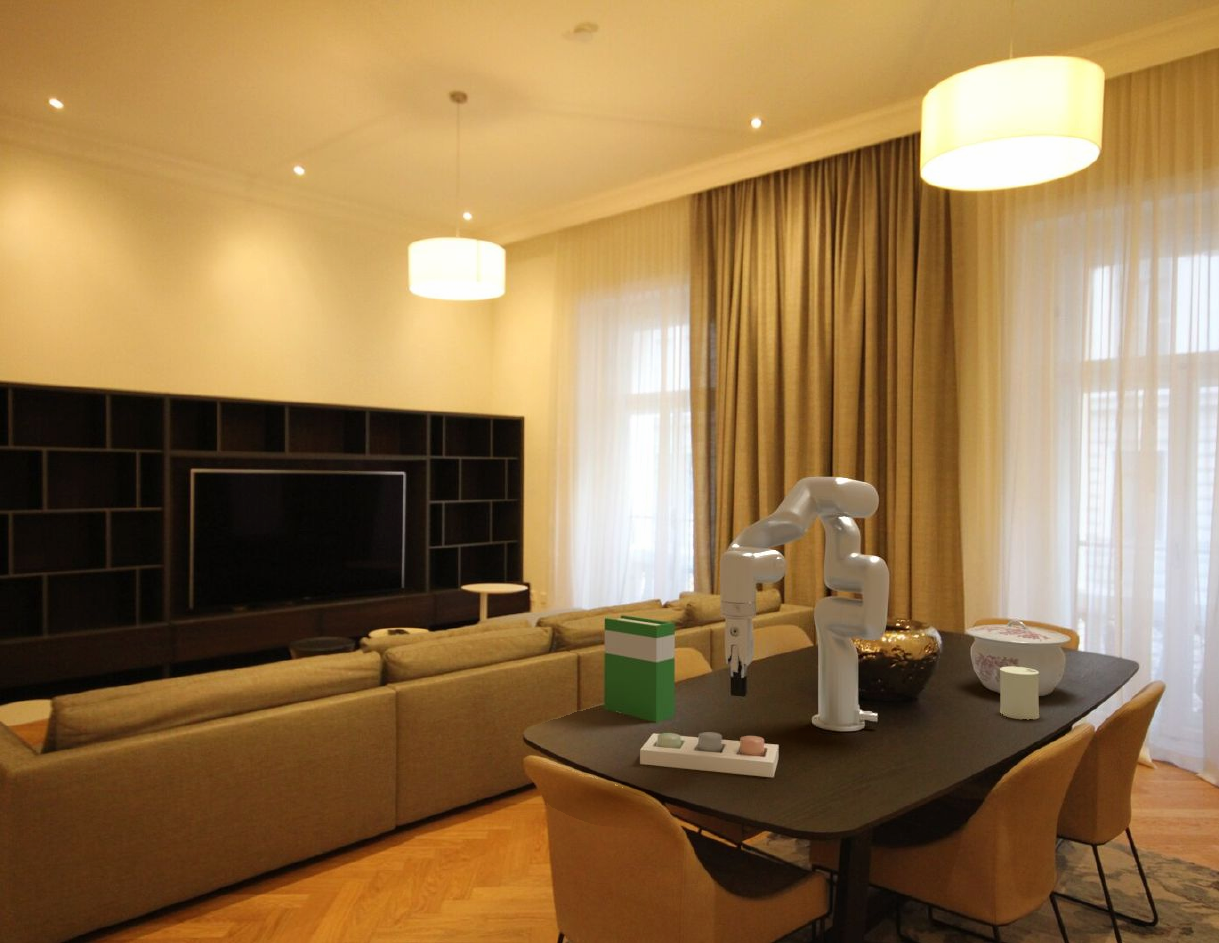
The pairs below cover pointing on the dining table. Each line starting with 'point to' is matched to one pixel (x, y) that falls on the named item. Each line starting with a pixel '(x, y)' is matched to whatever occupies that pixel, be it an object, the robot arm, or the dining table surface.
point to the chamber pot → (1017, 653)
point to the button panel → (710, 757)
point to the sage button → (669, 740)
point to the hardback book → (640, 667)
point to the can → (1019, 692)
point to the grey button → (710, 742)
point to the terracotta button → (752, 746)
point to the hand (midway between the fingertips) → (738, 694)
